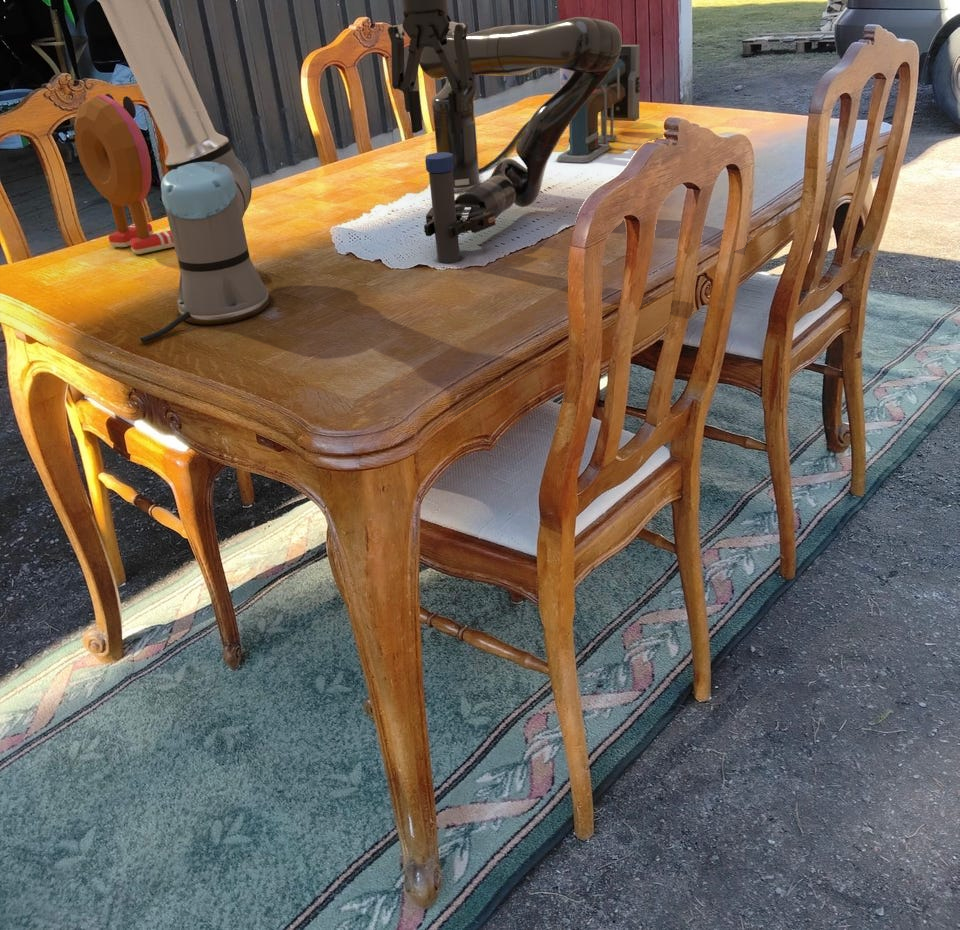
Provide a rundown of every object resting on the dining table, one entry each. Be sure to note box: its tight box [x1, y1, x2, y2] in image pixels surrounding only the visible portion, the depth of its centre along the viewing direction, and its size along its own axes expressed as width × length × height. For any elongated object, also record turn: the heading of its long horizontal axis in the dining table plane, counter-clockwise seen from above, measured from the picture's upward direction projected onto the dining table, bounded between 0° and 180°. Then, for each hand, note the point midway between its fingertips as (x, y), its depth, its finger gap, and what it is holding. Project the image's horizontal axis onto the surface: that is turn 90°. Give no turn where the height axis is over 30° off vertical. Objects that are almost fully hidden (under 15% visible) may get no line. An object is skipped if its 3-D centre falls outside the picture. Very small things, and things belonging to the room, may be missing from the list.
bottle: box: [428, 171, 461, 264], centre depth 175 cm, size 4×4×18 cm
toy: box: [73, 93, 175, 255], centre depth 194 cm, size 21×10×30 cm, turn 47°
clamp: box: [556, 44, 641, 164], centre depth 243 cm, size 35×9×21 cm, turn 151°
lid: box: [424, 152, 454, 173], centre depth 171 cm, size 5×5×2 cm
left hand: (437, 131), depth 168 cm, fingers open, 7 cm apart
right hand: (438, 231), depth 175 cm, fingers closed on bottle, 4 cm apart
